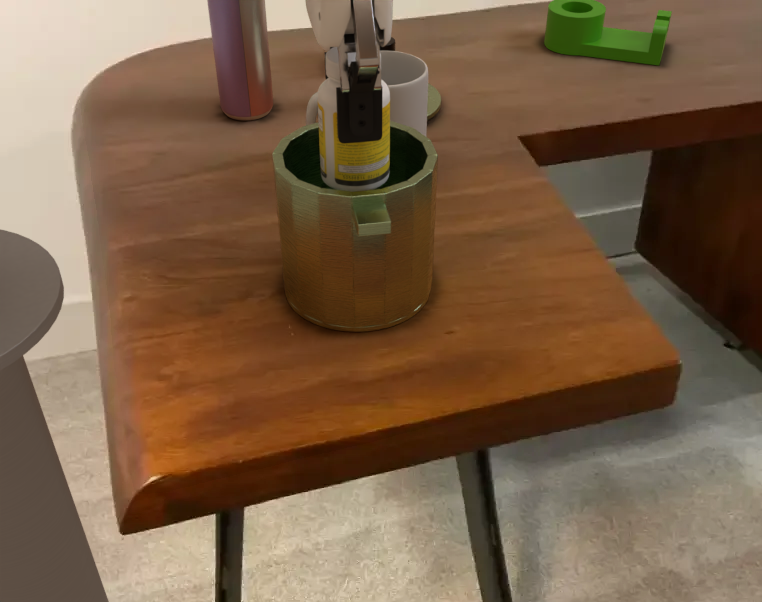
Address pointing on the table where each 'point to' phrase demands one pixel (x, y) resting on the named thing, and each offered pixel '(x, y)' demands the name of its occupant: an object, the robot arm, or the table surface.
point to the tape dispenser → (601, 33)
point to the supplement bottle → (350, 160)
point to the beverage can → (241, 57)
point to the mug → (398, 90)
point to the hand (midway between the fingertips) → (353, 118)
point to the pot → (356, 234)
